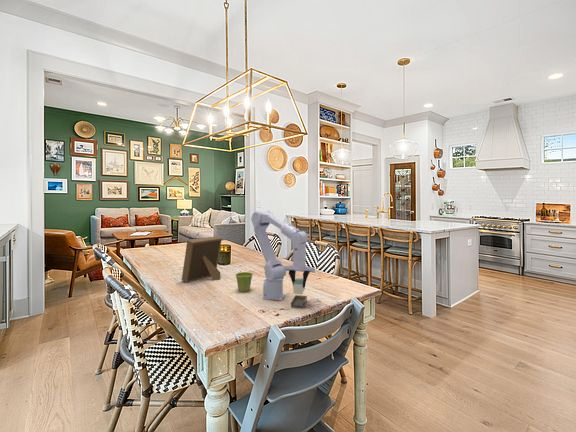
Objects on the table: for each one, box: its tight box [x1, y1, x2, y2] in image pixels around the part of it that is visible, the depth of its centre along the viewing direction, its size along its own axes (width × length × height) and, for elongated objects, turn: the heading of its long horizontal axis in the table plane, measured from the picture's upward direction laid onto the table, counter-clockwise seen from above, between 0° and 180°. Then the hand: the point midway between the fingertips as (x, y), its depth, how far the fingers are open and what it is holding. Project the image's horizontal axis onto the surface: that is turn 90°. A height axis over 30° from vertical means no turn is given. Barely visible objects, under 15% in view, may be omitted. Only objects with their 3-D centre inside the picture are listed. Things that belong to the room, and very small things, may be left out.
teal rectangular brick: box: [292, 277, 306, 295], centre depth 139 cm, size 4×8×5 cm, turn 168°
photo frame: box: [181, 235, 222, 283], centre depth 178 cm, size 15×22×25 cm
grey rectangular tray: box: [290, 294, 308, 309], centre depth 140 cm, size 6×11×2 cm, turn 168°
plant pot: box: [235, 271, 254, 293], centre depth 159 cm, size 9×9×9 cm
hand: (299, 286), depth 138 cm, fingers closed on teal rectangular brick, 4 cm apart
